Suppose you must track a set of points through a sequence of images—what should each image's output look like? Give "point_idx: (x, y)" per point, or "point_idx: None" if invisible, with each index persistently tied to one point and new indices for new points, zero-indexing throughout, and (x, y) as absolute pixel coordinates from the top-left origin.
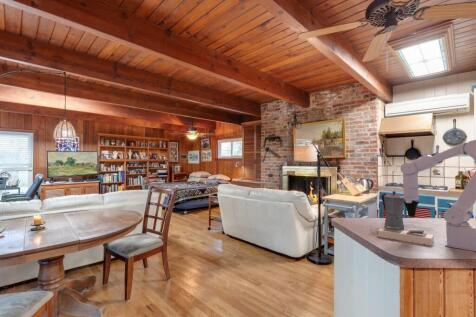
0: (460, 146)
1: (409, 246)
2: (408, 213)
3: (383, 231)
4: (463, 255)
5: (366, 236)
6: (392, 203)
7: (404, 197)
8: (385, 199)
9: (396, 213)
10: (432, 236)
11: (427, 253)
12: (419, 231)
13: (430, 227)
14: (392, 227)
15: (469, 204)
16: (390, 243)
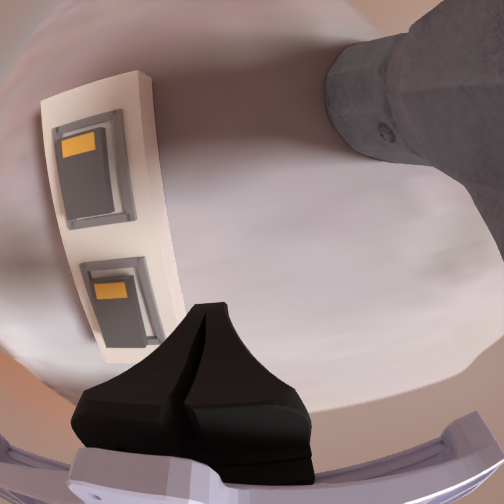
0: None
1: (32, 277)
2: (183, 323)
3: (45, 135)
4: None
5: (30, 68)
6: (459, 71)
7: (29, 493)
8: None
9: (404, 124)
10: None
11: (21, 333)
12: (102, 333)
13: (499, 260)
14: (79, 174)
15: None
16: (7, 206)
